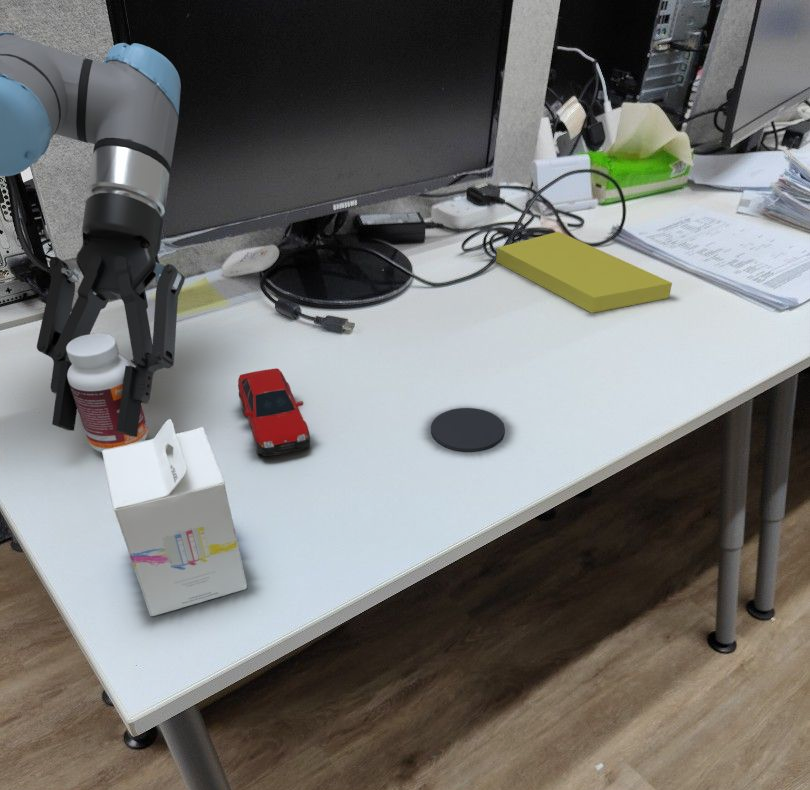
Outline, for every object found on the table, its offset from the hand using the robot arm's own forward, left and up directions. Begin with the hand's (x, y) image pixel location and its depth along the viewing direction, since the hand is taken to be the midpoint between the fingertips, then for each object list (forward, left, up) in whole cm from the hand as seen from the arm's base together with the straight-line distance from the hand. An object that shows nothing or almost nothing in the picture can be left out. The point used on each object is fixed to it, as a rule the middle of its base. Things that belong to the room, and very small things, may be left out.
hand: (94, 430), depth 77 cm
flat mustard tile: (-11, +71, -4) cm, 72 cm away
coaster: (+14, +35, -4) cm, 38 cm away
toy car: (+2, +18, -4) cm, 19 cm away
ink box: (+20, +2, -4) cm, 21 cm away
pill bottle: (-3, +2, -4) cm, 5 cm away
